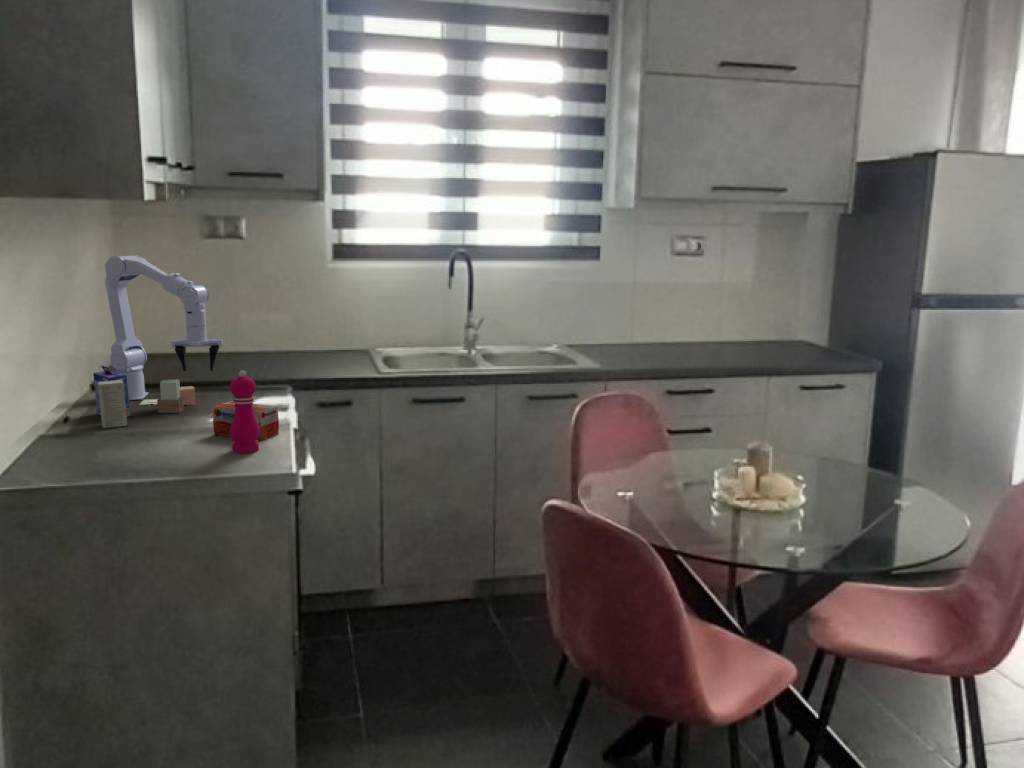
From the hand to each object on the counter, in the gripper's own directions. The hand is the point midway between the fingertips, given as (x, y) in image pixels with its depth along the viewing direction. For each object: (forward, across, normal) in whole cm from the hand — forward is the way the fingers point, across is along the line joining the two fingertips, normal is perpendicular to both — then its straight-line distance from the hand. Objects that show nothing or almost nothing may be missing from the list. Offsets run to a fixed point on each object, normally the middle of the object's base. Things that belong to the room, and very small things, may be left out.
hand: (198, 370), depth 261 cm
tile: (+10, -14, +4) cm, 18 cm away
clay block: (+10, -4, +1) cm, 11 cm away
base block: (+11, -7, -8) cm, 15 cm away
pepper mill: (+11, +18, -56) cm, 60 cm away
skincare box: (+11, -19, -25) cm, 33 cm away
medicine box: (+11, +17, -40) cm, 45 cm away
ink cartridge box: (+11, -22, -12) cm, 27 cm away
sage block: (+7, -7, -8) cm, 12 cm away
